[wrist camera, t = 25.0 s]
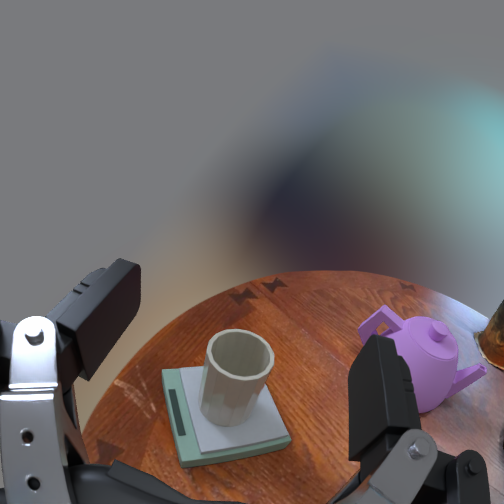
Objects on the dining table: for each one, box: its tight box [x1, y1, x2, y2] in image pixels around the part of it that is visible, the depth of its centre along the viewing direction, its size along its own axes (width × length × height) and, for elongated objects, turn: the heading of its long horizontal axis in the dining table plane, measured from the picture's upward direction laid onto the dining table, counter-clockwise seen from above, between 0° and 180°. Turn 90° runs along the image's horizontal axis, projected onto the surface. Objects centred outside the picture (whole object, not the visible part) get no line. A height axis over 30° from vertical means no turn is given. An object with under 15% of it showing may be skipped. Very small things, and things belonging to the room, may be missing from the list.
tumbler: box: [198, 329, 274, 427], centre depth 29 cm, size 6×6×9 cm
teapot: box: [358, 305, 487, 413], centre depth 39 cm, size 22×16×12 cm
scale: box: [162, 366, 291, 468], centre depth 32 cm, size 12×12×3 cm
